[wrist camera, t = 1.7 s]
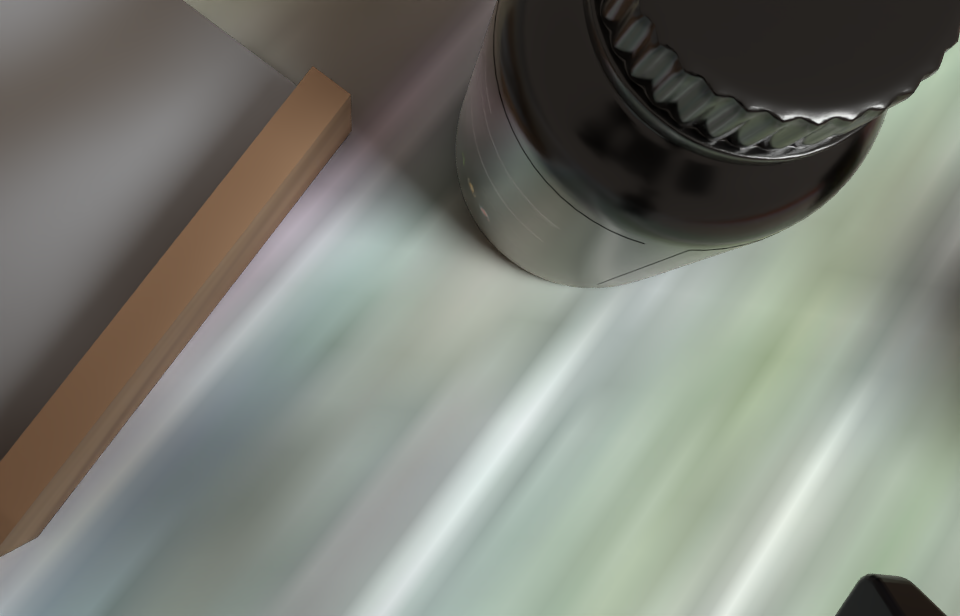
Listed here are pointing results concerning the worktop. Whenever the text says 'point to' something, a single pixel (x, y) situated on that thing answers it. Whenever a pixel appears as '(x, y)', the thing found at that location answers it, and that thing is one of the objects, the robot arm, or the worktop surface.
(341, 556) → the worktop surface
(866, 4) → the supplement bottle
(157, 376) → the bay
